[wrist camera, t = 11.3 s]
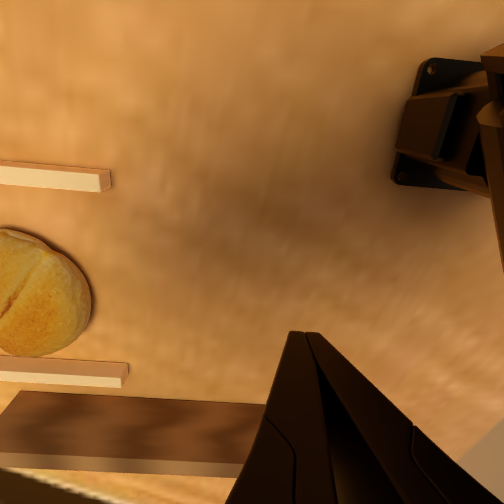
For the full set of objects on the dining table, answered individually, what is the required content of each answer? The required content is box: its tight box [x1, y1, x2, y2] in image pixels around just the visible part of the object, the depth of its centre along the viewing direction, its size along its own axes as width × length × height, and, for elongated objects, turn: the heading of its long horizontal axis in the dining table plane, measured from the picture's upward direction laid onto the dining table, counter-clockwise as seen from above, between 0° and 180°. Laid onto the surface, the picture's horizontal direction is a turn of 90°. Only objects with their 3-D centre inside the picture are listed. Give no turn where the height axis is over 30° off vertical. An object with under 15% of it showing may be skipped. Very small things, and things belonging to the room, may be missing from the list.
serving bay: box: [0, 160, 128, 388], centre depth 21 cm, size 13×16×2 cm
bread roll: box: [0, 229, 91, 357], centre depth 20 cm, size 8×9×4 cm
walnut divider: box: [0, 391, 266, 478], centre depth 24 cm, size 22×2×5 cm, turn 85°
